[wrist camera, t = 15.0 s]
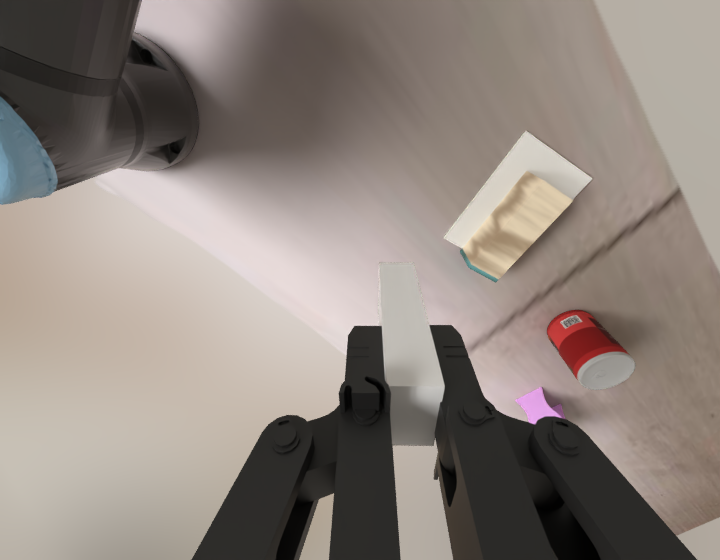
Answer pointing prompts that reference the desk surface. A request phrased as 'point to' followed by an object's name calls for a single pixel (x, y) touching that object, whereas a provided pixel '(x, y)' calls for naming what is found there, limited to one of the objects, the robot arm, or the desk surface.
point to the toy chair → (538, 406)
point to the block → (514, 226)
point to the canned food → (589, 350)
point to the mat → (519, 160)
